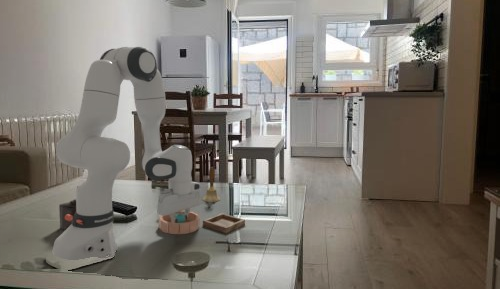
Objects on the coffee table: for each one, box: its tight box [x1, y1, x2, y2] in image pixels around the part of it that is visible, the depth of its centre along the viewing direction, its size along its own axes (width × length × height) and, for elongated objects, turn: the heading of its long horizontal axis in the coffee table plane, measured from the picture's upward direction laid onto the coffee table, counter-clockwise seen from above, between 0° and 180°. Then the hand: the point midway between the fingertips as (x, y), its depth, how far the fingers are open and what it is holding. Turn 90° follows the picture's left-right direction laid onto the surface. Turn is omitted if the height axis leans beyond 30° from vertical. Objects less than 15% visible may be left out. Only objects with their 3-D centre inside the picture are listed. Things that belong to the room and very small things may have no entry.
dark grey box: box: [58, 185, 79, 231], centre depth 157 cm, size 16×11×18 cm
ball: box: [175, 214, 185, 223], centre depth 164 cm, size 4×4×4 cm
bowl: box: [158, 210, 201, 235], centre depth 165 cm, size 16×16×4 cm
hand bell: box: [202, 166, 221, 203], centre depth 200 cm, size 8×8×16 cm
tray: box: [202, 212, 246, 234], centre depth 168 cm, size 12×12×2 cm
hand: (179, 221), depth 164 cm, fingers closed on ball, 4 cm apart
